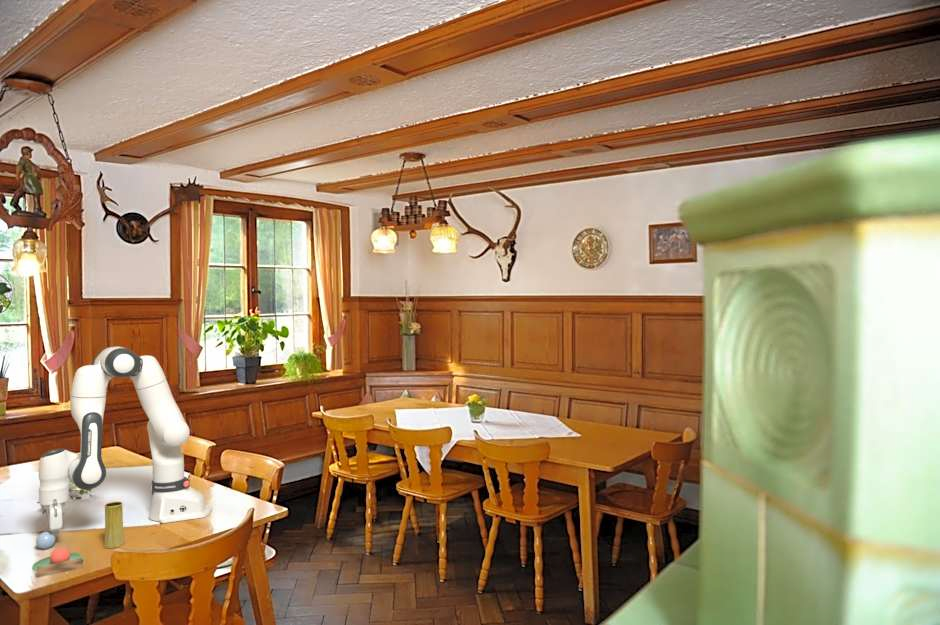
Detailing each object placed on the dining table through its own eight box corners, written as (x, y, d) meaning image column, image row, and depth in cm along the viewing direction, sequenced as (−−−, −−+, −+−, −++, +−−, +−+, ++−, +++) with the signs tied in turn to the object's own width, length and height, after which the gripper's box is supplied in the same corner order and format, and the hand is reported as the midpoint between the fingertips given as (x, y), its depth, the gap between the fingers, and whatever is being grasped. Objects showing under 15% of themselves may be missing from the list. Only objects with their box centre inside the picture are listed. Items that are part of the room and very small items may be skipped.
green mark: (90, 551, 214) (90, 551, 214) (75, 569, 201) (75, 568, 201) (42, 556, 211) (42, 555, 211) (24, 574, 197) (24, 573, 197)
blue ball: (47, 529, 216) (59, 540, 217) (47, 527, 220) (59, 538, 222) (31, 542, 213) (44, 553, 214) (32, 539, 218) (44, 550, 219)
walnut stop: (82, 565, 203) (82, 557, 203) (83, 567, 202) (82, 559, 202) (36, 575, 196) (36, 566, 196) (37, 577, 195) (36, 569, 195)
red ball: (74, 564, 205) (72, 549, 208) (67, 557, 201) (65, 541, 204) (54, 572, 203) (53, 556, 206) (47, 564, 199) (46, 549, 202)
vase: (109, 542, 223) (108, 501, 222) (127, 541, 223) (127, 500, 223) (100, 549, 217) (100, 507, 216) (119, 548, 217) (118, 506, 217)
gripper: (67, 502, 217) (67, 542, 218) (63, 487, 234) (63, 525, 234) (44, 506, 214) (45, 547, 214) (42, 490, 230) (43, 529, 231)
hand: (54, 535), depth 224 cm, fingers closed
